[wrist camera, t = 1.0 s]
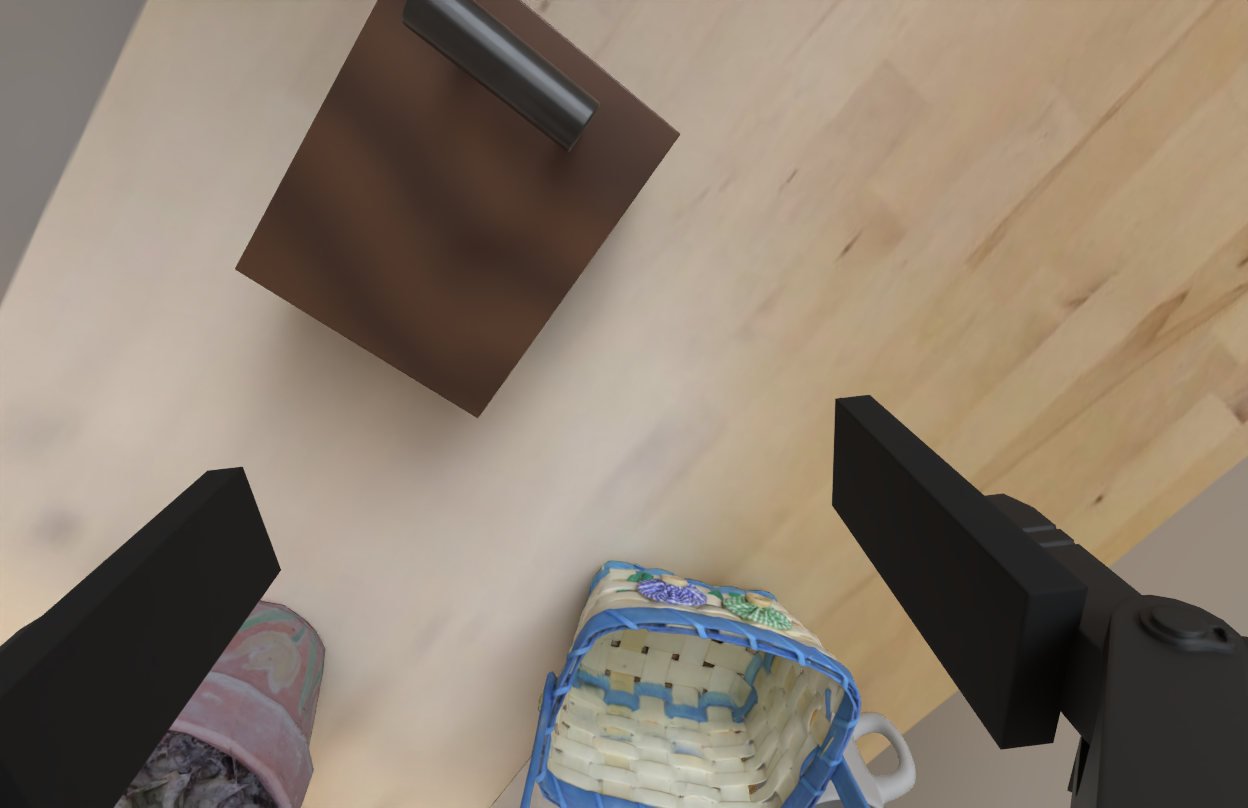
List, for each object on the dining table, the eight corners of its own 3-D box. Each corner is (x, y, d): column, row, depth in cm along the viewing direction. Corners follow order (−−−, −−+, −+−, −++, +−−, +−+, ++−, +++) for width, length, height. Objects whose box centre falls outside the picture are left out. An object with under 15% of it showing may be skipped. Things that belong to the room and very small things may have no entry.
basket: (826, 552, 49) (1023, 881, 27) (751, 709, 54) (865, 1085, 33) (562, 495, 45) (544, 816, 24) (512, 668, 51) (460, 1056, 29)
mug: (751, 757, 56) (789, 891, 46) (723, 690, 53) (757, 818, 43) (882, 715, 56) (949, 843, 45) (862, 645, 52) (929, 765, 42)
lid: (426, -77, 25) (341, -198, 16) (678, 134, 29) (721, 129, 20) (242, 266, 30) (97, 318, 21) (480, 412, 33) (442, 510, 24)
